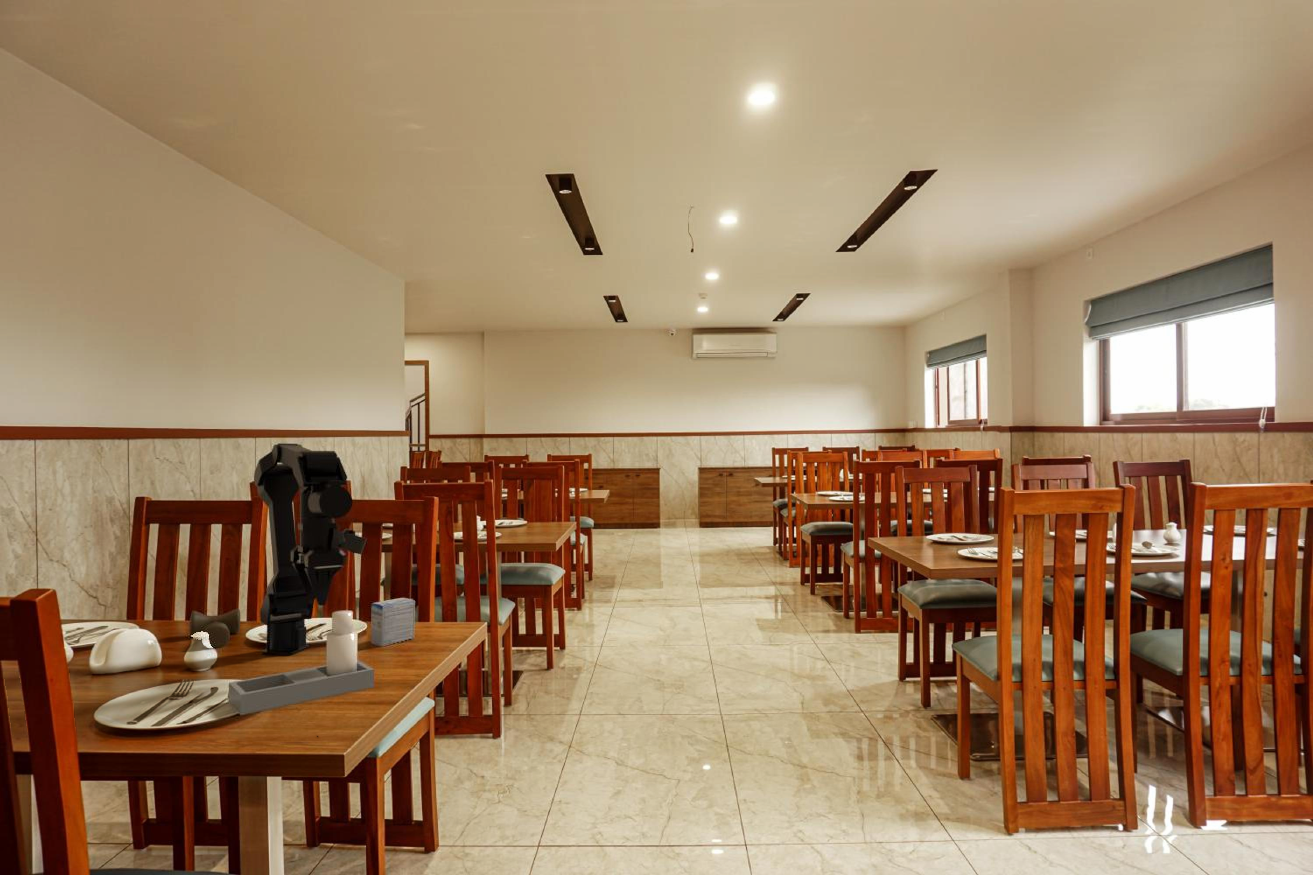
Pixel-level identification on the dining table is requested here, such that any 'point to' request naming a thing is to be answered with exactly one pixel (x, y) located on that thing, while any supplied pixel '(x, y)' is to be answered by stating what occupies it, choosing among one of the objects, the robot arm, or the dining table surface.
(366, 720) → the dining table surface
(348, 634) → the white stepped cylinder
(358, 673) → the caddy
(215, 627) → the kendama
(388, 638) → the medicine box
